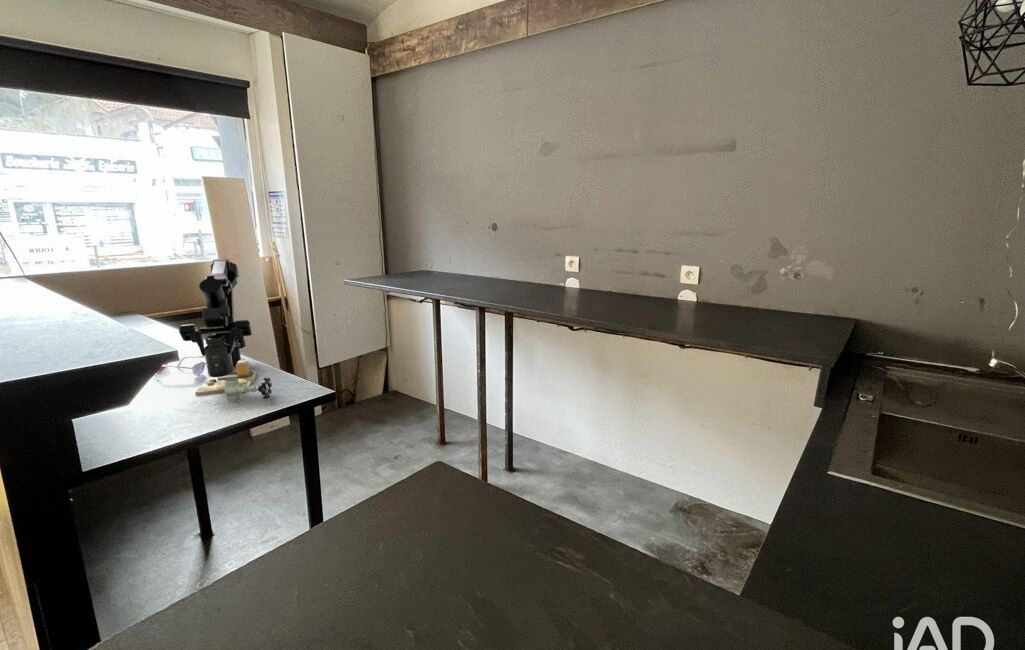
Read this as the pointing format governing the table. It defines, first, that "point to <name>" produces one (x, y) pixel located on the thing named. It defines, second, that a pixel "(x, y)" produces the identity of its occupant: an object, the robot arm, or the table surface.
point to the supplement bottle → (218, 356)
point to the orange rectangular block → (242, 368)
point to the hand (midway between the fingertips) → (216, 354)
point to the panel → (223, 383)
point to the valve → (245, 389)
